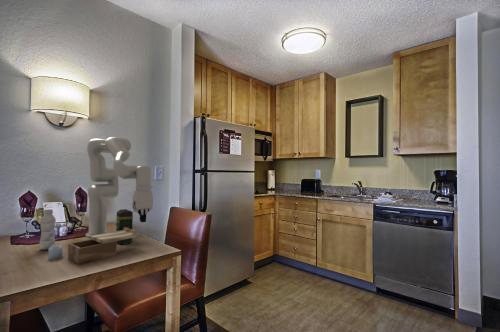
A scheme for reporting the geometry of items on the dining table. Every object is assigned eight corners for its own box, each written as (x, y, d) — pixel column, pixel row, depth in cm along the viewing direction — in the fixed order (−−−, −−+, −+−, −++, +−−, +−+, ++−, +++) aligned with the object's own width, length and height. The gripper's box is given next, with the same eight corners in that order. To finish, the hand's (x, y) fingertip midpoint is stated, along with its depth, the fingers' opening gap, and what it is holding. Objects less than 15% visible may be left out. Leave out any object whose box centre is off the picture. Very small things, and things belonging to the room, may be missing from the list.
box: (68, 258, 120) (68, 243, 121) (104, 250, 133) (104, 236, 133) (79, 264, 113) (79, 248, 113) (116, 255, 126) (116, 241, 126)
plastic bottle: (46, 251, 130) (47, 211, 130) (35, 250, 131) (36, 210, 132) (58, 247, 136) (59, 209, 137) (47, 246, 138) (48, 208, 138)
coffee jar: (133, 243, 148) (134, 210, 148) (118, 245, 143) (119, 211, 143) (129, 239, 155) (129, 208, 155) (114, 241, 150) (115, 209, 150)
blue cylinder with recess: (46, 258, 121) (47, 247, 121) (59, 255, 125) (60, 245, 125) (50, 260, 118) (51, 249, 118) (64, 257, 122) (64, 247, 122)
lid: (90, 239, 129) (90, 232, 129) (124, 232, 142) (124, 227, 142) (103, 243, 121) (103, 237, 121) (137, 236, 135) (137, 230, 135)
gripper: (151, 187, 152) (151, 219, 152) (126, 188, 140) (126, 223, 140) (159, 187, 148) (159, 220, 147) (134, 189, 136) (133, 224, 135)
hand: (142, 221), depth 143 cm, fingers closed
